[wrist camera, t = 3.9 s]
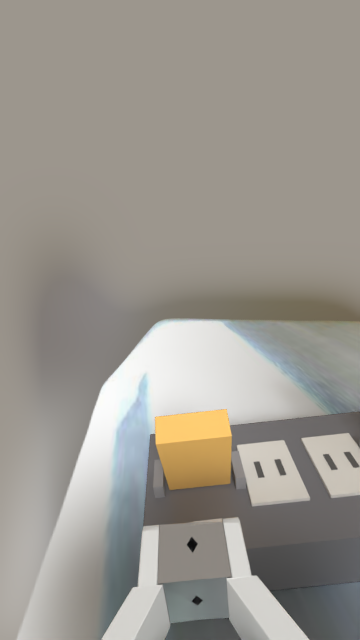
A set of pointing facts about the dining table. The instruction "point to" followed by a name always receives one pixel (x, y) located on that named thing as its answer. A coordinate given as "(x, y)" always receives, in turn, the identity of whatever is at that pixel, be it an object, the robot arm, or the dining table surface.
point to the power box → (281, 498)
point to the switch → (195, 448)
